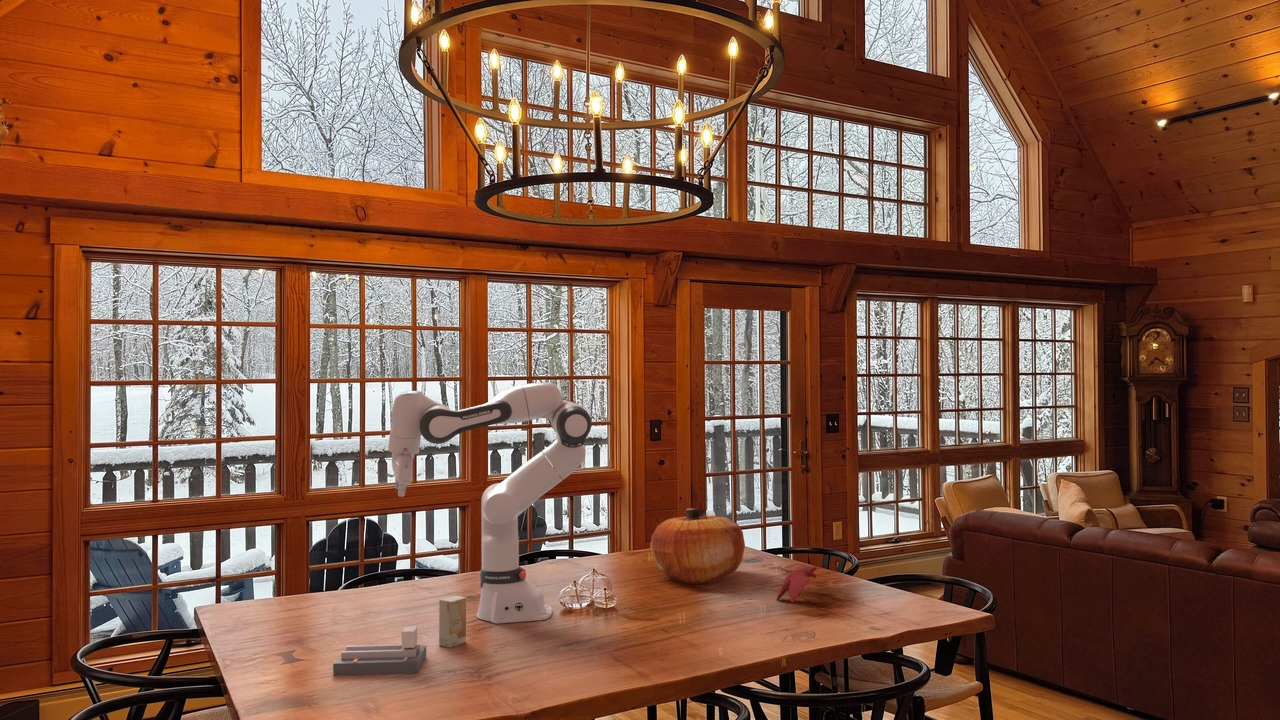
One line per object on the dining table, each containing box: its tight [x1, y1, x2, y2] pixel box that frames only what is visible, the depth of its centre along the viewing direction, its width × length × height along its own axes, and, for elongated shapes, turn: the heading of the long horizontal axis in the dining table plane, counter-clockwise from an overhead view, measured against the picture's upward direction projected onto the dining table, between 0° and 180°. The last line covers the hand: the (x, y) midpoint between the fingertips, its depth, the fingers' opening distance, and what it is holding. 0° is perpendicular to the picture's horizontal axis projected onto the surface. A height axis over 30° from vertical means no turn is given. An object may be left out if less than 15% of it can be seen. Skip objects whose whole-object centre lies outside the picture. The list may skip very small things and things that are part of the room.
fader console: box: [332, 643, 427, 677], centre depth 215 cm, size 20×12×5 cm, turn 93°
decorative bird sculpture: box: [776, 566, 818, 603], centre depth 273 cm, size 28×9×15 cm
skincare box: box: [438, 595, 467, 648], centre depth 233 cm, size 6×4×12 cm
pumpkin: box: [650, 507, 746, 585], centre depth 305 cm, size 33×33×25 cm
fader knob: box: [400, 626, 419, 654], centre depth 216 cm, size 4×4×6 cm
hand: (399, 492), depth 253 cm, fingers open, 8 cm apart
